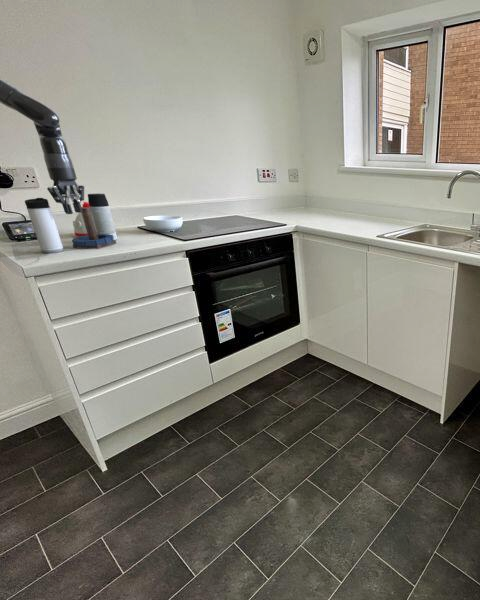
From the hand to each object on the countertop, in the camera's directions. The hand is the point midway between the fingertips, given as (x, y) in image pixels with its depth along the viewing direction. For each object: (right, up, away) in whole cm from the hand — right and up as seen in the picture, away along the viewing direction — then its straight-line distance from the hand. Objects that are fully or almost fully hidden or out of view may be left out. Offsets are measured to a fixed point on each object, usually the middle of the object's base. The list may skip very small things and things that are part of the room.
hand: (74, 212), depth 138 cm
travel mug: (-7, -15, -1) cm, 17 cm away
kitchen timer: (-19, -3, +31) cm, 36 cm away
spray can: (-4, -7, +21) cm, 22 cm away
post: (-1, -11, +10) cm, 15 cm away
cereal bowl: (+7, +1, +43) cm, 44 cm away
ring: (0, -10, +9) cm, 14 cm away
